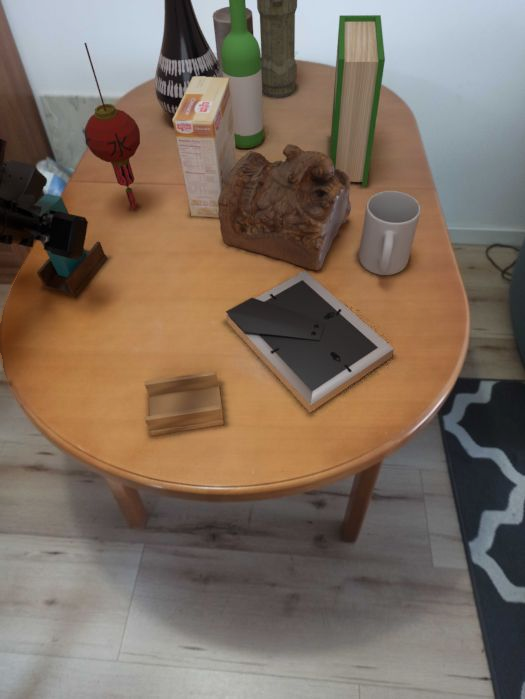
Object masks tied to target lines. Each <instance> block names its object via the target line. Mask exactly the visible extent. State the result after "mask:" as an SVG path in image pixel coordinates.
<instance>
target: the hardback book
mask: <svg viewBox="0 0 525 699" xmlns="http://www.w3.org/2000/svg"><path fill="white" fill-rule="evenodd" d="M382 26H383V25H382V16H381V14H380V15H379V14H378V15H377V14H376V15H375V14H371V15H370V14H365V15H362V14H359V15H358V14H357V15H354V14H353V15H352V14H351V15H350V14H348V15H339V18H338V31H337V32H338V33H337V46H336V59H335V60H336V61H335V74H334V86H333V87H334V89H333V101H332V102H333V103H332V115H331V116H332V117H331V129H330V148H329V150H330V152H329V158H330V159H331V160H332V162H333V165H334V169H339V170H340V171H342V172H345V174H346V175H347V176H348V177H349V179H350V183H361V188H367V187H368V180H369V172H370V166H371V158H372V152H373V144H374V138H375V132H376V124H377V117H378V110H379V103H380V97H381V90H382V83H383V77H384V68H385V63H386V62H385V61H386V56H385V47H384V46H385V45H384V36H383V27H382Z"/></svg>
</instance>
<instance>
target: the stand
mask: <svg viewBox="0 0 525 699" xmlns="http://www.w3.org/2000/svg"><path fill="white" fill-rule="evenodd" d="M218 378H219V377H218V373H217V370H212V371H205V372H200V373H199V372H198V373H192V374H186V375H179V376H171V377H165V378H159V379H152V380H145V381H144V387H145V389H146V392H147V394H148V397H149V399H148V401H149V402H148V403H149V415H146V416H144V421H145V423H146V425H147V428H148V430H149V433H150V435H151V436H157V435H163V434H172V433H178V432H184V431H190V430H197V429H204V428H210V427H216V426H222V425H223V426H224V425H225V423H224V415H223V414H224V413H223V406H222V397H221V388H220V382H219V379H218Z"/></svg>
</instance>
